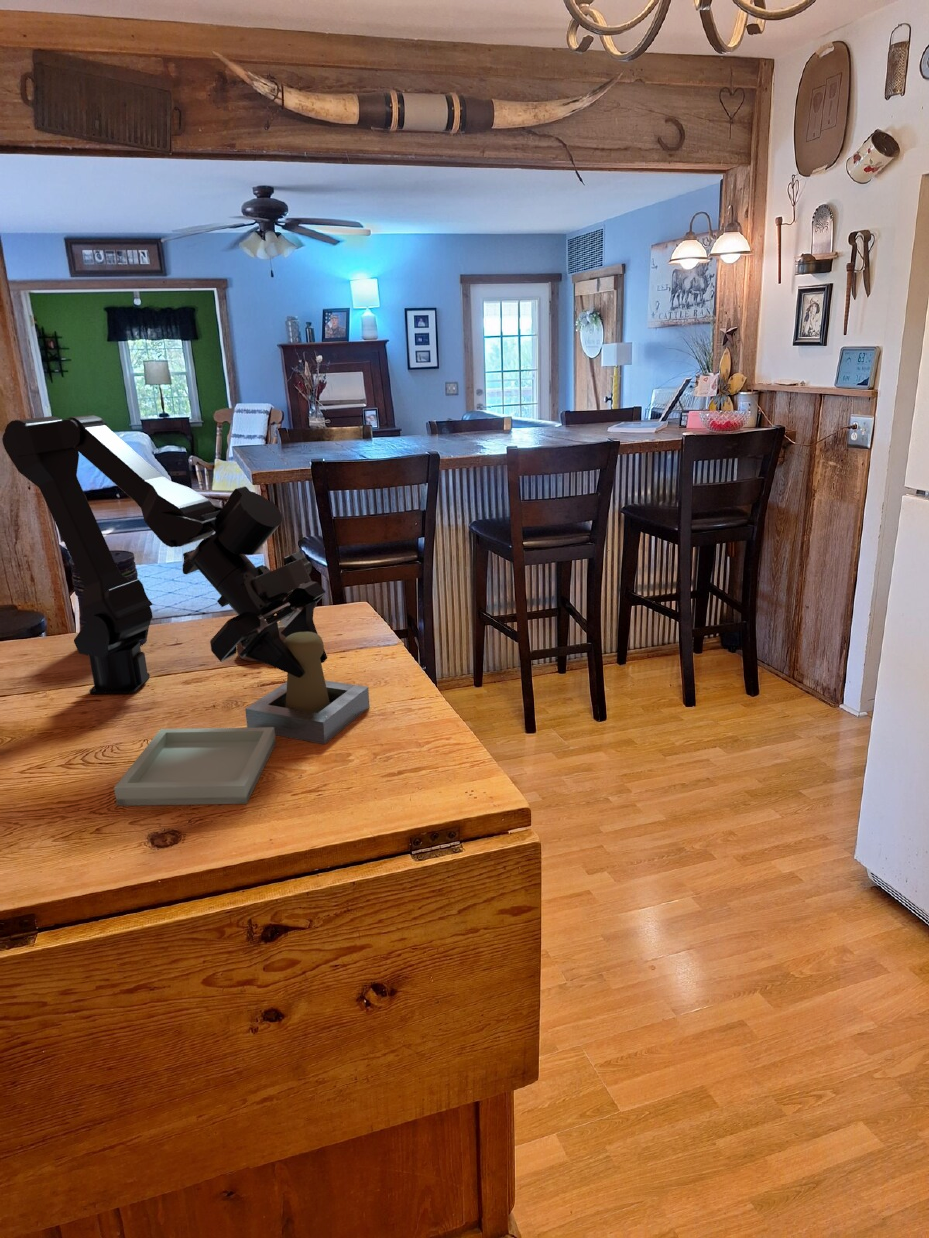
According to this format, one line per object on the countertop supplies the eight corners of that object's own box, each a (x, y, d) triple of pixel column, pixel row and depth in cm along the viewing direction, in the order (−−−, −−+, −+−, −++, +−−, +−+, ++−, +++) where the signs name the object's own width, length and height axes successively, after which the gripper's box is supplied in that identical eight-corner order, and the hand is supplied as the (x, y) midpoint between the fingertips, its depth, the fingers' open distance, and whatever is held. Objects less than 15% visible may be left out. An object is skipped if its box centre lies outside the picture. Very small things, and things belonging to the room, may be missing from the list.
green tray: (117, 805, 87) (114, 787, 87) (163, 745, 101) (160, 728, 100) (246, 803, 87) (244, 785, 86) (275, 743, 100) (274, 727, 100)
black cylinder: (108, 658, 129) (93, 568, 125) (71, 648, 134) (55, 560, 130) (160, 640, 137) (147, 554, 133) (123, 630, 142) (110, 547, 137)
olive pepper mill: (288, 704, 110) (281, 627, 106) (333, 702, 110) (327, 625, 106) (282, 724, 104) (275, 643, 100) (330, 721, 104) (324, 641, 101)
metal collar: (247, 729, 104) (245, 708, 103) (297, 695, 114) (295, 675, 113) (324, 744, 100) (323, 722, 99) (369, 707, 110) (368, 686, 109)
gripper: (220, 554, 93) (309, 657, 92) (309, 522, 109) (385, 609, 109) (173, 612, 98) (257, 709, 98) (264, 573, 114) (337, 656, 114)
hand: (314, 667), depth 104 cm, fingers closed on olive pepper mill, 5 cm apart
